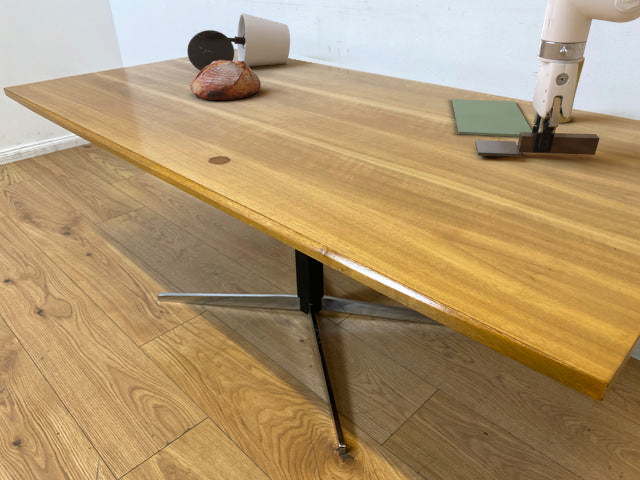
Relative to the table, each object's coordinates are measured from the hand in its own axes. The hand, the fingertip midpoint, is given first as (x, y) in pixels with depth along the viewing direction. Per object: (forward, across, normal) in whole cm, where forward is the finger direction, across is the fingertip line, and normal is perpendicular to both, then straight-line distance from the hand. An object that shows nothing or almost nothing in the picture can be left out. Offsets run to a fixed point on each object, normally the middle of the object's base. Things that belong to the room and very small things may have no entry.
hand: (539, 148), depth 96 cm
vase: (+2, +25, -9) cm, 27 cm away
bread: (0, +36, +78) cm, 86 cm away
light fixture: (0, +69, +84) cm, 108 cm away
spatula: (+1, 0, +1) cm, 1 cm away
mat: (+2, +24, +7) cm, 25 cm away
